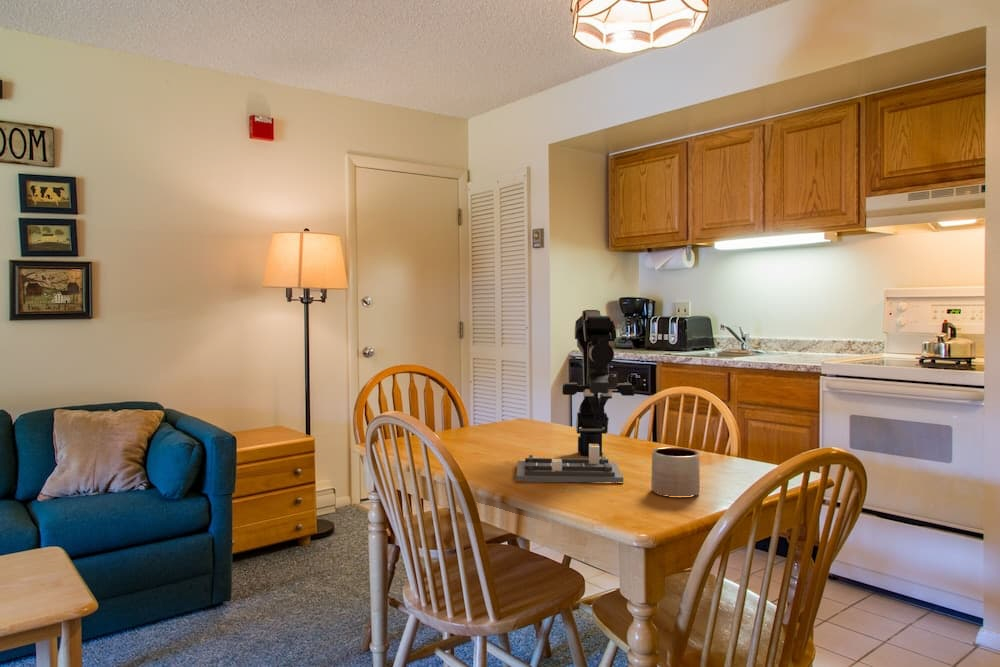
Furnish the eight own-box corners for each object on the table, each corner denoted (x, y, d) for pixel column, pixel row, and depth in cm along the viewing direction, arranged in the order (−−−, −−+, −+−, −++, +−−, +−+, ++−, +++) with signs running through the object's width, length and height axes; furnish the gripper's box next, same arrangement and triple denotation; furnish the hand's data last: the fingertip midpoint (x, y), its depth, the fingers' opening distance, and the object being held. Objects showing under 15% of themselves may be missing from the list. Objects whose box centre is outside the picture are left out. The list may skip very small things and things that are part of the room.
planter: (653, 498, 153) (653, 456, 153) (649, 485, 164) (649, 446, 163) (702, 500, 152) (703, 457, 151) (695, 487, 162) (696, 447, 162)
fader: (597, 462, 179) (598, 442, 179) (599, 466, 175) (599, 445, 175) (588, 462, 179) (588, 442, 179) (589, 465, 176) (590, 445, 175)
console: (615, 467, 181) (615, 451, 181) (623, 483, 165) (623, 465, 165) (517, 466, 182) (517, 449, 182) (516, 482, 166) (516, 463, 166)
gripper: (562, 364, 173) (562, 425, 174) (637, 365, 172) (636, 426, 172) (562, 361, 184) (562, 419, 185) (632, 362, 183) (631, 420, 183)
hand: (597, 421), depth 181 cm, fingers closed
